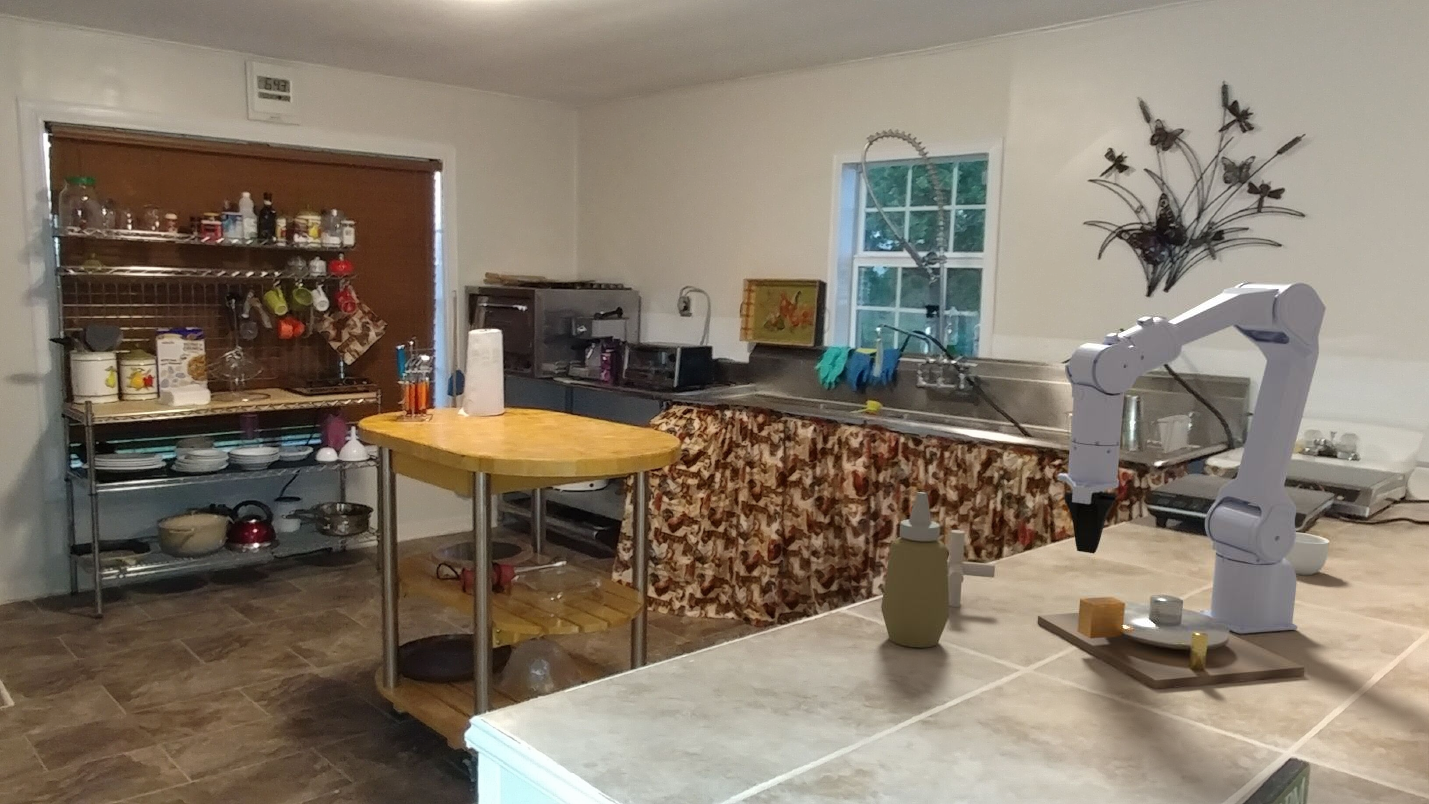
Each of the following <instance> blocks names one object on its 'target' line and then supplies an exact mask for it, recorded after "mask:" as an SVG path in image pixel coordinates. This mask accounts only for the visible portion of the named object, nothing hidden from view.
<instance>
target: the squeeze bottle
mask: <svg viewBox="0 0 1429 804" xmlns="http://www.w3.org/2000/svg"><path fill="white" fill-rule="evenodd" d="M929 505H930V503H929V497H928V494H927V492H924V491H920V492H919V491H918V492H916V493H915V499H914V502H913V506H912V509H911V513H910V515H909V519H904V520H901V521H900V522H899V525H900V526H899V537H897V538H895V539H894V540H893V541H892V542H891V543H890V550H889V556H888V562H887V568H886V569H887V570H886V573H885V574H886V575H885V581H884V588H883V594H882V599H881V607H880V608H881V614H882V617H883V619H884V620H883V621H884V625H885V627H886V631H887V636H888V638H889V640H890V641H892V642H893V643H895V644H897V645H900V646H904V647H910V648H921V649H922V648H930V647H934V646H936V645H938V643H940V642H939V641H940V639H941V637H942V634H943V632H944V631H945V627H946V626H947V622H948V620H949V619H950V618H949V617H950V606H949V590H948V566H947V560H948V548H947V545H945V544H944V542H943V541H940V540H939V539H940V536H941V535H940V534H941V525H940V524H939V522H936V521H934V520H933V521H932V516H931V510H930V506H929Z"/></svg>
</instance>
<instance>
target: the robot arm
mask: <svg viewBox="0 0 1429 804" xmlns="http://www.w3.org/2000/svg"><path fill="white" fill-rule="evenodd" d="M1326 310H1327V309H1326V306H1325V304H1324V303H1323V301H1322V299H1321V297H1320V296H1319V294H1318V293H1317V291H1316V289H1314V287H1313V286H1312V285H1309V284H1307V283H1304V282H1294V283H1259V282H1258V283H1257V282H1250V281H1245V282H1241V283H1239V284H1238V285H1235V286H1232V287H1228V288H1225V289H1224V290H1223V291H1222V293H1220V294H1217V296H1215V297H1212V298H1211V299H1209V300H1206V301H1204V302H1203V303H1202V304H1199V305H1198V306H1196V307H1194V308H1191V309H1190V310H1188V311H1186V312H1183V313H1182V314H1181V315H1178V316H1176V317H1175V318H1173V319H1170V320H1166V319H1164V318H1162V317H1152V316H1143V317H1141V318H1139V319H1137V321H1136V323H1137V325H1135V326H1133V327H1131V328H1129V329H1126V330H1124V331H1122V332H1120V333H1113V332H1112V333H1109V334H1107V335H1106V336H1105V339H1104V340H1103V341H1102V343H1095V342H1093V343H1092V342H1089V343H1084V344H1082V345H1080V346H1078V348H1077V349H1076V350H1075V351H1074V353H1072V355H1071V357H1070V359H1069V361H1068V363H1067V364H1065V365H1064V369H1065V370H1064V371H1065V375H1066V376H1065V377H1066V378H1067V380H1068V382H1069V383H1070V385H1071V390H1072V391H1071V398H1073V401H1072V415H1071V425H1070V426H1071V428H1070V429H1071V430H1070V439H1069V441H1070V443H1069V455H1068V466H1067V467H1068V469H1067V473H1064V472H1060V473H1058V474H1057V481H1060V482H1065V483H1067V485H1068V486H1069V487H1070V488H1071V489H1072V490H1070V491H1066V492H1065V494H1064V497H1063V498H1064V502H1065V504H1066V507H1067V509H1068V512H1069V514H1070V517H1071V520H1072V525H1073V526H1072V527H1073V532H1074V533H1073V535H1074V542H1075V547H1076V550H1077V552H1082V553H1088V554H1095V553H1096V552H1097V550H1098V548H1099V544H1100V540H1101V537H1102V534H1103V530H1104V526H1105V523H1106V520H1107V518H1108V515H1109V513H1110V511H1111V509H1112V507H1113V505H1114V504H1115V502H1116V500H1117V499H1118V495H1117V494H1116V493H1111V492H1105V491H1108V490H1114V489H1116V488H1119V486H1120V485H1119V484H1120V480H1119V479H1118V475H1119V473H1118V472H1119V463H1120V462H1119V460H1120V451H1121V450H1120V449H1121V438H1122V437H1121V436H1122V424H1123V422H1122V421H1123V410H1124V402H1125V401H1124V399H1125V393H1126V392H1128V391H1129V390H1131V388H1132V387H1133V385H1134V384H1135V382H1136V380H1137V379H1138V378H1139V377H1141V376H1143V375H1145V374H1147V373H1150V372H1152V371H1154V370H1156V369H1159V368H1160V367H1161V368H1162V366H1165V365H1166V364H1169V363H1171V362H1173V361H1175V360H1177V359H1178V357H1180V354H1181V352H1182V348H1183V346H1184V345H1187V344H1190V343H1192V342H1195V341H1198V340H1199V339H1203V338H1205V337H1208V336H1210V335H1212V334H1214V333H1218V332H1220V331H1222V330H1225V329H1227V328H1231V327H1233V328H1234V329H1235V330H1236V331H1238V332H1239V333H1240V334H1241V335H1243V336H1244V337H1245V339H1247V340H1249V341H1250V342H1251V343H1253V344H1254V345H1255V346H1256V347H1257V348H1258V349H1259V351H1260V352H1261V354H1263V356H1264V358H1265V360H1266V364H1265V367H1264V371H1263V376H1262V380H1261V383H1260V387H1259V390H1258V394H1257V398H1256V401H1255V406H1254V410H1253V413H1252V417H1251V421H1250V424H1249V429H1248V433H1247V437H1246V440H1245V444H1244V448H1243V451H1242V452H1243V453H1242V455H1241V459H1240V463H1239V467H1238V470H1237V474H1236V476H1235V478H1234V479H1232V480H1231V481H1228V482H1227V483H1225V484H1224V485H1222V486H1221V487H1220V488H1219V490H1218V492H1217V497H1216V498H1215V501H1214V502H1213V504H1212V506H1211V507H1210V508H1209V510H1208V511H1207V513H1206V516H1205V519H1204V529H1205V533H1206V536H1207V537H1208V538H1209V540H1210V541H1211V542H1212V550H1214V551H1215V558H1214V559H1215V560H1214V569H1213V577H1212V578H1213V579H1212V590H1211V600H1210V601H1211V602H1210V609H1207V610H1206V609H1202V610H1195V612H1198V613H1201V614H1204V615H1207V616H1210V617H1212V618H1215V619H1217V620H1219V621H1220V622H1222V623H1223V624H1225V625H1226V626H1227V627H1228V628H1229V631H1231V632H1233V633H1236V634H1250V633H1251V634H1252V633H1254V634H1255V633H1265V632H1267V633H1268V632H1278V631H1289V630H1290V631H1292V630H1297V629H1298V625H1297V624H1295V623H1293V622H1294V611H1295V601H1296V591H1297V585H1298V584H1297V582H1298V581H1297V580H1298V579H1297V574H1295V571H1294V568H1293V566H1292V565H1291V563H1290V562H1289V561H1288V560H1286V559H1285V558H1284V557H1286V556H1287V555H1288V554H1289V552H1290V551H1291V549H1292V548H1293V545H1294V543H1295V538H1296V532H1297V531H1296V523H1295V519H1296V515H1297V511H1298V508H1297V506H1296V504H1295V503H1294V501H1293V499H1292V498H1291V497H1290V496H1289V495H1288V493H1287V492H1286V491H1285V489H1284V488H1285V483H1286V479H1287V476H1288V472H1289V470H1290V469H1289V468H1290V465H1291V461H1292V458H1293V452H1294V449H1295V445H1296V443H1297V438H1298V435H1299V430H1300V427H1301V423H1302V420H1303V416H1304V412H1305V408H1306V405H1307V404H1306V403H1307V401H1308V396H1309V392H1310V391H1311V390H1310V389H1311V385H1312V381H1313V378H1314V374H1315V371H1316V366H1317V362H1318V358H1319V353H1320V352H1319V351H1320V348H1319V347H1320V346H1319V335H1320V332H1321V327H1322V324H1323V321H1324V316H1325V314H1326V313H1325V312H1326ZM1250 504H1255V505H1257V506H1258V507H1256V506H1253V505H1250Z"/></svg>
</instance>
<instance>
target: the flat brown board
mask: <svg viewBox="0 0 1429 804" xmlns="http://www.w3.org/2000/svg"><path fill="white" fill-rule="evenodd" d="M1078 619H1079V612H1071V613H1070V612H1069V613H1058V614H1057V613H1055V614H1053V613H1052V614H1041V615H1040V614H1039V615H1037V624H1038V625H1041V626H1042V627H1043V628H1045V629H1047V630H1049V631H1051V632H1053V633H1055V634H1056V635H1057V636H1059V637H1062V638H1063V639H1065V640H1067V641H1068V642H1070V643H1072V644H1074V645H1076V646H1077V647H1079V648H1081V649H1083V650H1084V651H1086V652H1088V653H1090V654H1091V655H1093V656H1096V657H1097V658H1098V659H1101V660H1102V661H1104V662H1106V663H1107V664H1109V665H1111V666H1113V668H1117V669H1118V670H1120V671H1121V672H1124V673H1125V674H1127V675H1128V676H1131V677H1132V678H1134V679H1136V680H1138V681H1140V682H1141V683H1143V684H1145V685H1147V686H1148V687H1151V688H1152V689H1154V690H1161V689H1172V688H1181V687H1191V686H1192V687H1193V686H1194V687H1195V686H1203V685H1213V684H1214V685H1215V684H1227V683H1236V682H1238V683H1239V682H1245V681H1246V682H1248V681H1260V680H1270V679H1280V678H1281V679H1282V678H1293V677H1302V676H1305V666H1303V665H1301V664H1299V663H1296V662H1294V661H1293V660H1290V659H1287V658H1285V657H1284V656H1280V655H1279V654H1277V653H1274V652H1271V651H1269V650H1267V649H1265V648H1262V647H1261V646H1259V645H1256V644H1254V643H1251V642H1249V641H1247V640H1245V639H1242V638H1241V637H1238V636H1235V635H1234V634H1232V633H1229V641H1228V643H1227V644H1226V645H1224V646H1222V647H1219V648H1214V649H1207V652H1206V663H1205V671H1202V672H1199V671H1194V670H1191V669H1190V668H1189V662H1190V651H1191V650H1186V649H1174V648H1166V647H1160V646H1155V645H1150V644H1145V643H1141V642H1138V641H1134V640H1131V639H1128V638H1125V637H1123V636H1117V637H1104V638H1088V637H1086V636H1085V635H1083V634H1081V633H1079V632H1078Z"/></svg>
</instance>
